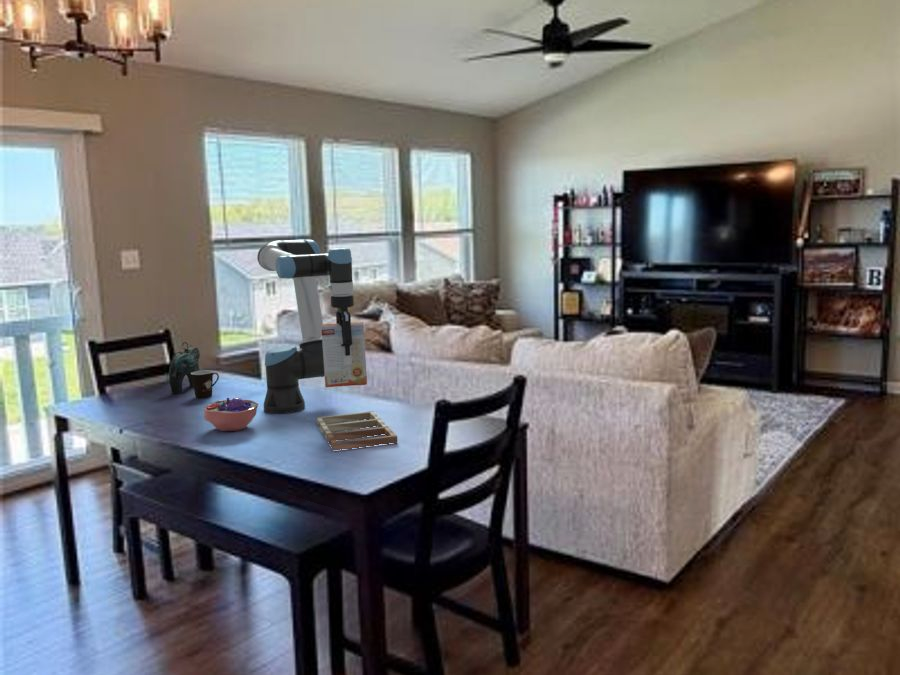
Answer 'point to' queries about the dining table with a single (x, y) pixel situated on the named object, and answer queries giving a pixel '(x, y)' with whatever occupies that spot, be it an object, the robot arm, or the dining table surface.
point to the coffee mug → (203, 383)
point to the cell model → (230, 413)
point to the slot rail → (348, 425)
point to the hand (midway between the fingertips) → (345, 362)
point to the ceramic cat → (183, 367)
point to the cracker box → (334, 356)
